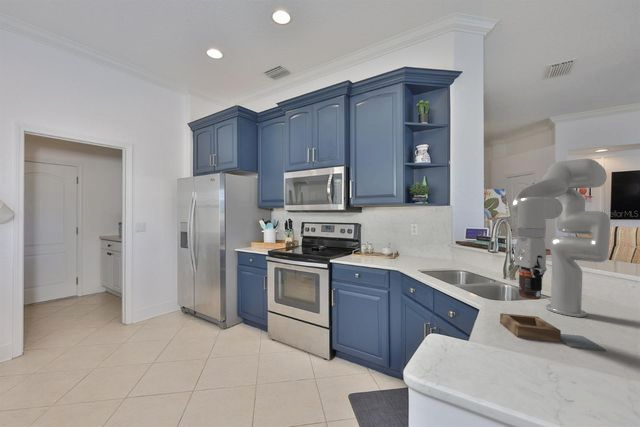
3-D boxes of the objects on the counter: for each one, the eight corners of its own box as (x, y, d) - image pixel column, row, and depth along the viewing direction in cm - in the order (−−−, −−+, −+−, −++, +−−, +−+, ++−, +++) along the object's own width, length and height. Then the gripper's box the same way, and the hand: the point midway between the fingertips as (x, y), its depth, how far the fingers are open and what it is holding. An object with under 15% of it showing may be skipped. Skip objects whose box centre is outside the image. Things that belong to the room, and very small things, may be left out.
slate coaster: (550, 334, 90) (550, 332, 90) (582, 337, 88) (582, 335, 88) (570, 347, 81) (570, 345, 81) (605, 351, 80) (605, 349, 80)
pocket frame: (499, 322, 99) (500, 313, 99) (537, 326, 97) (537, 316, 97) (517, 337, 87) (517, 326, 87) (560, 341, 85) (560, 330, 85)
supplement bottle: (545, 300, 89) (545, 266, 89) (524, 299, 90) (525, 264, 90) (534, 295, 95) (535, 262, 95) (515, 293, 96) (516, 261, 96)
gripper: (506, 231, 101) (505, 280, 101) (533, 235, 84) (532, 293, 85) (529, 232, 100) (528, 281, 100) (561, 236, 83) (559, 295, 83)
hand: (529, 286), depth 92 cm, fingers closed on supplement bottle, 5 cm apart
